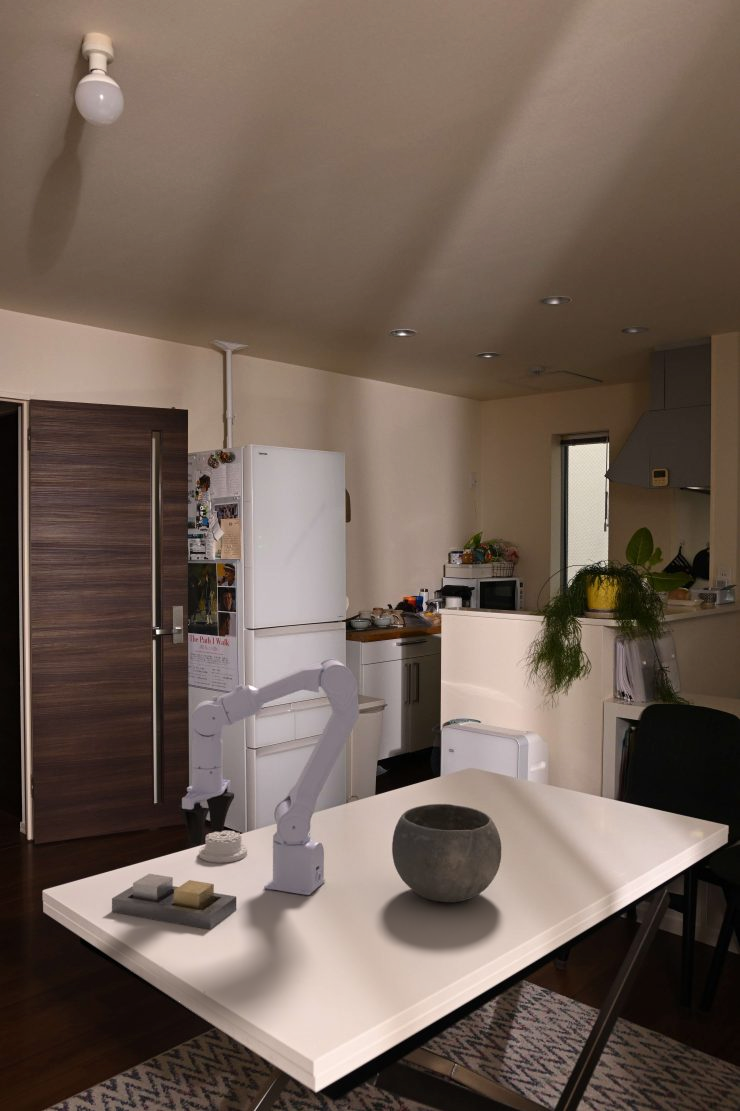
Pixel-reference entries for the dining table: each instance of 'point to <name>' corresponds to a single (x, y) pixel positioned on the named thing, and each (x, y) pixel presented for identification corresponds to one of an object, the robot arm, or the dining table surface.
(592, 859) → the dining table surface
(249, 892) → the dining table surface
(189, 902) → the brushed gold cube
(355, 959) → the dining table surface
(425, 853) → the bowl
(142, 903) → the grey tray
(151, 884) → the silver gray cube
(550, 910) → the dining table surface
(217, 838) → the mechanical component
